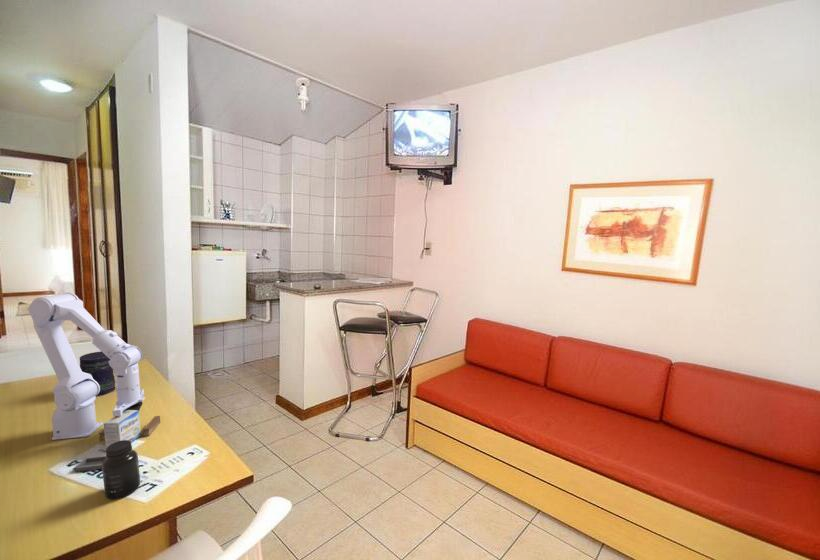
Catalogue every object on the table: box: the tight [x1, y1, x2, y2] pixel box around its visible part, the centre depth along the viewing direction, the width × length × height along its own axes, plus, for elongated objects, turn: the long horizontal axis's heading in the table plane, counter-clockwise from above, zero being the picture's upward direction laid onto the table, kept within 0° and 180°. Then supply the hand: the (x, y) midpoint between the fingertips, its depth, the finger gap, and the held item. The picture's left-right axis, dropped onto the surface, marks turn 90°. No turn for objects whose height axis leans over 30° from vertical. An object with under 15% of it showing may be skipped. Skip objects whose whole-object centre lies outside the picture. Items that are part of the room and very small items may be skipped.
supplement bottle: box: [101, 440, 141, 500], centre depth 86 cm, size 7×7×12 cm
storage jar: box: [79, 351, 116, 398], centre depth 137 cm, size 10×10×15 cm
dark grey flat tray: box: [74, 455, 107, 473], centre depth 96 cm, size 9×4×1 cm, turn 104°
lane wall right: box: [142, 415, 161, 437], centre depth 113 cm, size 2×8×2 cm, turn 14°
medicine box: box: [103, 410, 141, 449], centre depth 105 cm, size 8×4×9 cm, turn 0°
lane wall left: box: [99, 428, 105, 442], centre depth 111 cm, size 2×8×2 cm, turn 14°
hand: (131, 426), depth 112 cm, fingers closed
